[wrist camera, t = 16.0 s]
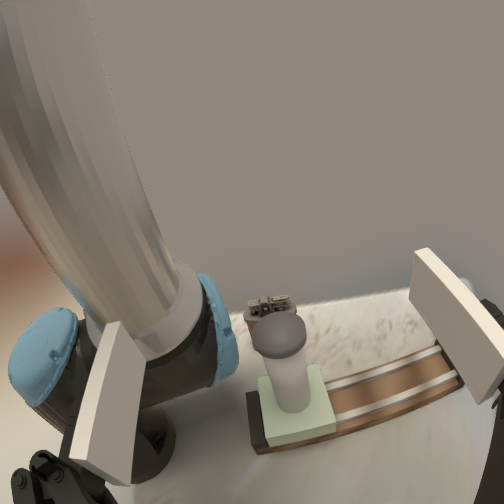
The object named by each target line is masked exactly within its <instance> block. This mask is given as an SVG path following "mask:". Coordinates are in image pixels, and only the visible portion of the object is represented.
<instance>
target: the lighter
mask: <svg viewBox="0 0 504 504" xmlns="http://www.w3.org/2000/svg"><path fill="white" fill-rule="evenodd" d="M248 306H249V309H248V310H246V311H245V312H244V314H243V317H244V320H245V322H246V323H247V326H248V329H249V332H250V335H251V338H252V330H253V327H254V325H255V324H256V323H257V321H258V320H260V319H261V318H262V317H264V316H266V315H268V314H270V313H274V312H280V311H286V312H291V313H294V314H296V313H297V310H296V306H295V304H293V303H290V298H289V296H288V295H281V296H275V297H272V298H270V297H268V296H262V297H260V299H259V300H252V301H249V302H248ZM252 341H253V339H252ZM252 344H253V347H254V349H255V350H256V348H255V345H254V342H253V343H252ZM256 351H257V350H256Z"/></svg>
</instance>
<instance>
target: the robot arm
mask: <svg viewBox="0 0 504 504" xmlns="http://www.w3.org/2000/svg"><path fill="white" fill-rule="evenodd" d="M0 185H1V187H2V189H3V191H4V193H5V195H6V196H7V198H8V200H9V202H10V204H11V205H12V207H13V209H14V210H15V212H16V214H17V215H18V217H19V219H20V220H21V222H22V223H23V225H24V227H25V228H26V230H27V232H28V233H29V235H30V236H31V238H32V239H33V241H34V243H35V244H36V246H37V247H38V248H39V250H40V251H41V253H42V254H43V256H44V257H45V259H46V260H47V262H48V263H49V264H50V266H51V267H52V268H53V270H54V271H55V273H56V274H57V275H58V277H59V278H60V279H61V281H62V282H63V283H64V285H65V286H66V287H67V289H68V290H69V291H70V292H71V294H72V295H73V296H74V297H75V299H76V300H77V301H78V303H80V305H81V306H82V307H83V309H84V310H85V311H86V312H87V316H86V319H83V320H78V318H77V316H76V314H75V313H73V312H71V311H70V310H69V309H67V308H62V307H59V308H55V309H52V310H50V311H48V312H46V313H44V314H43V315H41V316H40V317H38V318H37V319H36V320H35V321H34V322H33V323H31V325H30V326H29V327H28V328H27V329H26V330H25V331H24V332H23V334H22V335H21V336H20V338H19V339H18V341H17V343H16V344H15V346H14V348H13V351H12V353H11V356H10V359H9V364H8V376H9V380H10V383H11V384H12V386H13V388H14V389H15V390H16V391H17V392H18V394H19V395H20V396H21V397H22V398H23V399H24V400H25V402H26V404H27V405H28V406H29V407H31V408H32V409H33V410H34V411H35V412H37V413H38V414H39V415H40V416H41V417H42V418H44V419H45V420H46V421H47V422H48V423H50V424H51V425H52V426H53V427H54V428H56V429H57V430H58V431H60V432H61V433H62V434H63V435H64V436H63V440H62V444H61V449H60V453H59V457H56V456H55V455H53V454H51V453H50V452H49V451H47V450H40V451H38V452H36V453H35V454H34V455H33V456H32V458H31V460H30V465H29V469H30V471H28V470H26V469H24V468H19V469H17V470H16V471H15V472H14V473H13V475H12V478H11V488H12V495H13V501H14V504H118V503H117V501H116V500H115V499H114V497H113V496H112V494H111V493H110V491H109V490H108V489H107V488H106V487H105V481H107V482H109V483H111V484H113V485H118V486H129V487H130V484H135V483H140V482H143V481H146V480H148V479H150V478H152V477H153V476H155V475H156V474H158V473H159V472H160V471H161V470H162V469H163V468H164V467H165V465H166V464H167V463H168V461H169V459H170V457H171V455H172V453H173V449H174V445H175V431H174V427H173V424H172V422H171V420H170V418H169V417H168V415H167V414H166V413H165V412H164V411H163V410H162V408H161V407H160V406H159V405H158V404H159V403H162V402H165V401H168V400H171V399H174V398H177V397H179V396H182V395H185V394H188V393H190V392H193V391H196V390H199V389H201V388H204V387H211V386H214V384H216V383H217V382H218V381H220V380H223V379H225V378H227V377H229V376H231V375H232V374H233V373H234V372H235V371H236V370H237V368H238V364H239V353H238V347H237V342H236V338H235V335H234V333H233V331H232V329H231V322H230V318H229V315H228V312H227V309H226V307H225V304H224V301H223V299H222V297H221V294H220V292H219V290H218V288H217V286H216V284H215V282H214V281H213V279H212V278H211V277H210V276H209V275H208V274H204V273H203V274H195V273H194V272H193V270H191V268H190V267H189V266H187V265H186V264H185V263H183V262H181V261H179V260H176V259H173V258H171V256H170V254H169V252H168V249H167V247H166V244H165V242H164V239H163V237H162V235H161V232H160V230H159V227H158V225H157V222H156V220H155V217H154V214H153V212H152V209H151V207H150V204H149V201H148V199H147V196H146V194H145V191H144V188H143V185H142V183H141V180H140V177H139V175H138V172H137V169H136V166H135V163H134V160H133V158H132V155H131V152H130V149H129V146H128V143H127V140H126V137H125V134H124V131H123V127H122V124H121V121H120V118H119V115H118V112H117V109H116V105H115V102H114V99H113V95H112V92H111V88H110V85H109V82H108V78H107V74H106V71H105V67H104V63H103V59H102V56H101V52H100V48H99V44H98V40H97V36H96V32H95V27H94V23H93V18H92V14H91V9H90V4H89V0H0ZM409 300H410V301H411V303H412V304H413V305H414V307H415V308H416V310H417V311H418V312H419V314H420V315H421V317H422V318H423V319H424V321H425V322H426V324H427V325H428V327H429V328H430V330H431V331H432V333H433V334H434V335H435V337H436V338H437V340H438V341H439V343H440V344H441V346H442V347H443V349H444V351H445V352H446V354H447V355H448V357H449V358H450V360H451V361H452V363H453V365H454V366H455V368H456V369H457V371H458V373H459V374H460V376H461V377H462V379H463V381H464V382H465V384H466V386H467V387H468V389H469V391H470V392H471V394H472V396H473V398H474V399H475V401H476V403H477V405H479V404H481V403H482V402H484V401H486V400H487V399H489V398H490V397H492V396H493V394H494V393H495V391H496V390H497V388H498V389H499V391H500V392H501V393H500V395H499V396H498V397H497V399H496V400H495V401H494V403H493V405H492V407H491V408H492V409H494V407H495V406H496V405H497V403H498V406H497V412H496V419H495V424H494V430H493V435H492V440H491V444H490V449H489V453H488V457H487V461H486V465H485V469H484V472H483V476H482V479H481V482H480V486H479V489H478V492H477V495H476V498H475V501H474V503H473V504H504V315H503V313H502V312H501V311H500V310H499V309H498V307H497V306H496V305H495V304H493V303H491V302H490V301H488V300H486V299H483V300H481V301H478V299H477V298H476V297H475V296H474V295H473V294H472V293H471V292H470V291H469V289H468V288H467V287H466V286H465V285H464V284H463V283H462V282H461V281H460V280H459V279H458V278H457V277H456V275H454V273H453V272H452V271H450V269H449V268H448V267H447V266H446V265H445V264H444V263H443V262H442V261H441V260H440V259H439V258H438V257H437V256H436V255H435V254H434V253H433V252H432V251H431V250H430V249H429V248H424V249H421V250H417V251H415V252H414V259H413V268H412V278H411V286H410V293H409Z"/></svg>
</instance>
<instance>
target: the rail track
mask: <svg viewBox="0 0 504 504" xmlns="http://www.w3.org/2000/svg"><path fill="white" fill-rule="evenodd" d="M324 384H325V387H326V390H327V393H328V397H329V400H330V403H331V406H332V409H333V413H334V416H335V419H336V432H333V433H330V434H326V435H322V436H318V437H314V438H310V439H306V440H302V441H298V442H293V443H289V444H284V445H279V446H274V447H270V446H269V444H268V442H267V440H266V436H265V430H264V423H263V416H262V410H261V403H260V396H259V393H258V391H252V392H247V393H246V401H247V410H248V418H249V427H250V435H251V444H252V446H253V448H254V449H255V451H256V452H257V454H258V455H261V454H266V453H272V452H277V451H282V450H287V449H292V448H297V447H301V446H305V445H310V444H314V443H318V442H321V441H325V440H329V439H333V438H336V437H340V436H343V435H346V434H350V433H353V432H356V431H359V430H362V429H365V428H368V427H371V426H374V425H377V424H380V423H382V422H385V421H388V420H390V419H393V418H396V417H398V416H401V415H403V414H406V413H408V412H410V411H413V410H415V409H417V408H420V407H422V406H424V405H427V404H429V403H431V402H433V401H435V400H437V399H439V398H442V397H444V396H446V395H448V394H450V393H452V392H454V391H456V390H458V389H459V388H461V387H463V386H464V384H465V382H464V381H463V379H462V377H461V376H460V374H459V373H458V371H457V369H456V368H455V366H454V365H453V363H452V361H451V360H450V358H449V357H448V355H447V354H446V352H445V351H444V349H443V347H442V346H441V344H440V343H439V341H438V340H437V338H436V341H435V344H434V345H432V346H430V347H427V348H425V349H422V350H420V351H417V352H415V353H412V354H410V355H407V356H405V357H402V358H399V359H396V360H394V361H391V362H388V363H385V364H383V365H380V366H377V367H374V368H371V369H368V370H365V371H362V372H358V373H355V374H352V375H349V376H346V377H342V378H339V379H335V380H332V381H328V382H325V383H324Z"/></svg>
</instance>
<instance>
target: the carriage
mask: <svg viewBox="0 0 504 504" xmlns="http://www.w3.org/2000/svg"><path fill="white" fill-rule="evenodd" d="M252 339H253V342H254V345H255V348H256V350H257V351H258V352H259V353H260V354H261V355H262V356H263V359H264V362H265V365H266V368H267V372H268V375H267V376H262V377H258V378H257V382H258V389H259V396H260V403H261V410H262V416H263V423H264V430H265V436H266V440H267V442H268V444H269V446H270V447H274V446H279V445H284V444H289V443H293V442H298V441H302V440H306V439H310V438H314V437H318V436H322V435H326V434H330V433H333V432H336V419H335V416H334V413H333V409H332V406H331V403H330V400H329V397H328V393H327V390H326V387H325V384H324V381H323V378H322V374H321V371H320V368H319V365H318V363H317V364H313V365H309V366H306V359H305V352H304V344H305V342H306V329H305V323H304V321H303V320H302V318H301V317H299V316H298V315H296V314H294V313H291V312H286V311H280V312H274V313H270V314H268V315H266V316H264V317H262V318H261V319H260V320H258V321H257V323H256V324H255V325H254V327H253V330H252Z"/></svg>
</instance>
